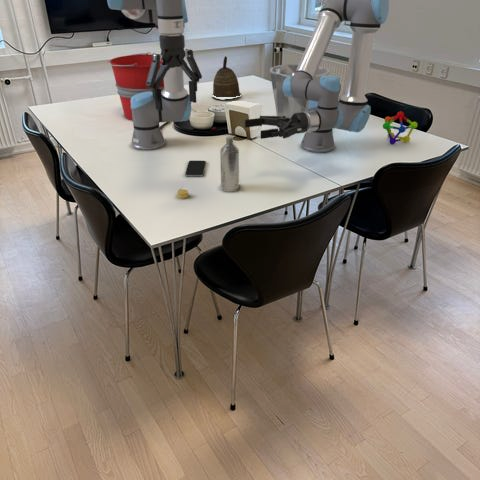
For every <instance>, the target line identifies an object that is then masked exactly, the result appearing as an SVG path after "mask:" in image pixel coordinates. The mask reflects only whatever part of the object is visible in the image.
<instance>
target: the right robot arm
mask: <svg viewBox="0 0 480 480" xmlns="http://www.w3.org/2000/svg"><path fill="white" fill-rule="evenodd" d="M389 1H390V0H326V1H325V2H324V3H323V5H322V6H321V8H320V10H319V11H318V14H317V23H316V25H315V27H314V30H313V32H312V34H311V36H310V38H309V40H308V43H307V45H306V47H305V49H304V51H303V54H302V56H301V59H300V61H299V62H298V64H299V65H298V67H297V70H296V72H295V74H294V76H293V77H292V76H288V77H287V78H285V80H284V82H283V93H284V95H285V96H288V97H292V98H299V99H306V100H310V101H309V107H308V111H306V112H300V113H294V114H293V115H292V117H291V118H285V116H277V115H259V117H258V118H257V117H256V118H249V119H244V128H254V127H262V126H263V125H264V126H274V127H277V128H270V129H263V130H262V129H261V130H260V139H261V140H263V139H264V140H265V139H270V138H276V137H277V138H278V137H279V138H282V139H287V138H290V137H292V136H294V135H297V134H304V136H303V138H302V140H301V142H300V143H301V144H300V147H301V149H303V150H304V151H307V152H310V153H316V154H317V153H319V154H323V153H330V152H332V151H334V150H335V146H336V143H335V139H334V133H333V130H334V129H336V130H342V131H347V132H350V133H351V132H352V133H360V132H362V131H363V130H364V128H365V127H366V126H367V123H368V121H369V118H370V117H371V111H372V109H371V108H372V107H371V105H369V104H368V98H367V97H366V89H367V83H368V77H369V72H370V67H371V66H370V65H371V60H372V55H373V54H372V53H373V49H374V43H375V42H374V41H375V36H376V33H377V32H378V31H379V30H380V29H381V25H383V24H385V23H386V22H387V18H388V15H389V8H390V7H389V6H390V2H389ZM343 22H349V28H350V29H351V31H352V35H351V42H350V48H349V57H348V62H347V63H348V64H347V70H346V78H345V82H344V83H345V84H344V91H343V94H342V95H341V96H340V91H341V79H340V77H338V76H337V75H330V74H329V75H325V76H322V77H321V78H320V80H313V78H314V76H315V74H316V71H317V69H318V67H320V65H321V62H322V60H323V58H324V56H325V53H326V52H327V49H328V47H329V45H330V42H331V40H332V38H333V36H334V33H335V31H336V29H338V28H340V27H341V24H342V23H343Z"/></svg>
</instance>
